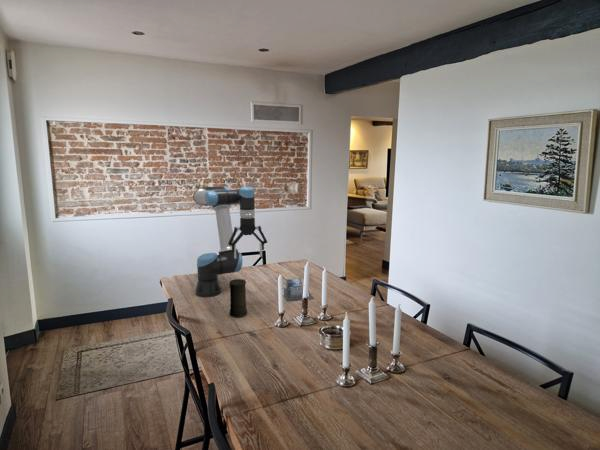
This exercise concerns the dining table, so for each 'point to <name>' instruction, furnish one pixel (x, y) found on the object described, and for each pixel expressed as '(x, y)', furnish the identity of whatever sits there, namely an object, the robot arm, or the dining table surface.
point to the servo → (296, 283)
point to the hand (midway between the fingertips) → (248, 257)
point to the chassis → (294, 291)
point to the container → (238, 298)
